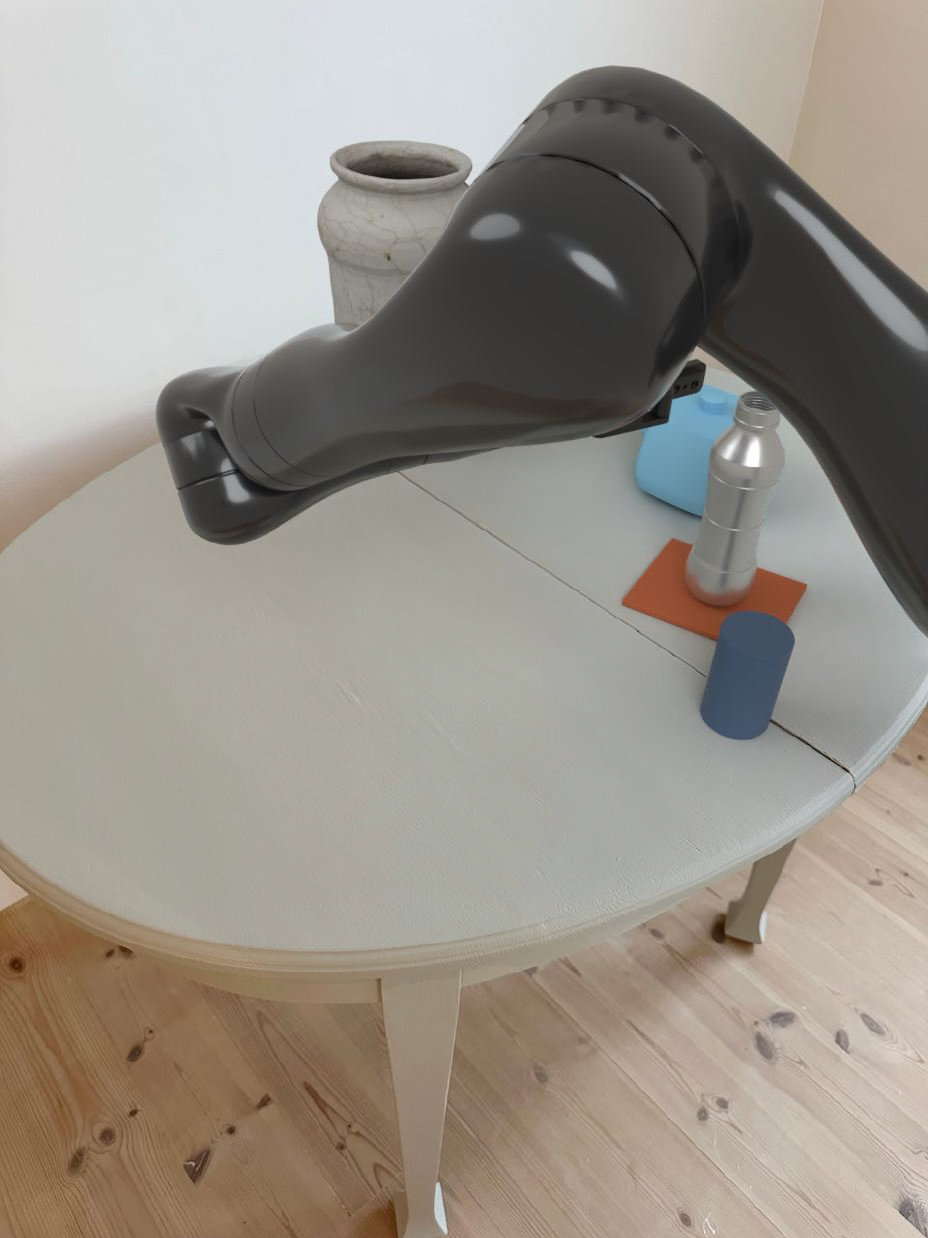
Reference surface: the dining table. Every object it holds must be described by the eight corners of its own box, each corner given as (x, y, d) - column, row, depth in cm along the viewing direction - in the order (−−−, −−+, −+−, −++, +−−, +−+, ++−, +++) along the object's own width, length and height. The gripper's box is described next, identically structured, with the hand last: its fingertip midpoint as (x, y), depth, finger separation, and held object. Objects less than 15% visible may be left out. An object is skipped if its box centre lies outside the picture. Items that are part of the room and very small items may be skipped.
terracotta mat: (806, 589, 92) (807, 584, 92) (765, 659, 85) (767, 654, 84) (671, 542, 98) (671, 537, 98) (621, 604, 90) (622, 599, 90)
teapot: (649, 436, 114) (664, 345, 107) (784, 494, 105) (811, 399, 98) (586, 475, 107) (597, 381, 100) (725, 541, 98) (748, 443, 91)
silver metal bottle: (680, 610, 89) (721, 417, 76) (680, 567, 94) (719, 379, 81) (751, 619, 88) (805, 425, 75) (747, 575, 93) (797, 386, 80)
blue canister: (777, 707, 80) (804, 626, 74) (755, 750, 76) (781, 668, 71) (714, 682, 82) (735, 601, 76) (690, 722, 79) (709, 640, 73)
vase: (507, 410, 119) (521, 150, 99) (427, 474, 107) (425, 193, 88) (389, 373, 126) (380, 124, 106) (302, 430, 114) (274, 161, 95)
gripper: (525, 390, 56) (739, 338, 62) (420, 305, 66) (614, 266, 72) (519, 497, 61) (718, 439, 67) (422, 403, 71) (603, 360, 77)
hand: (664, 350), depth 70 cm, fingers open, 8 cm apart
